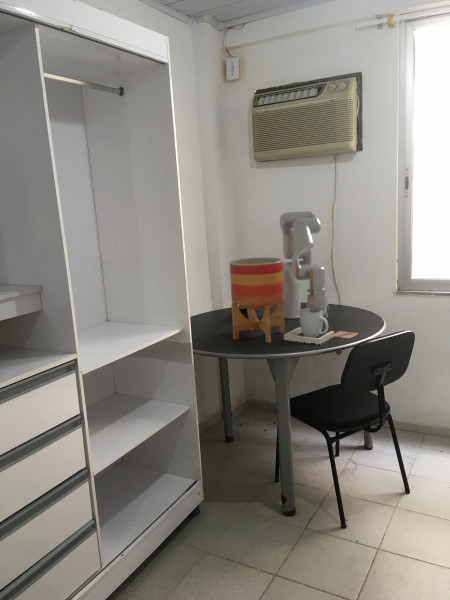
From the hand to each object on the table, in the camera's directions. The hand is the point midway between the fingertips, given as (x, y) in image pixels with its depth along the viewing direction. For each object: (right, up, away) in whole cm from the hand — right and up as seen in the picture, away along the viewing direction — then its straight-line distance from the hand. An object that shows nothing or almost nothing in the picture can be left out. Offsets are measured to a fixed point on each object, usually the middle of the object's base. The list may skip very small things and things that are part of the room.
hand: (318, 328), depth 245 cm
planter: (-29, -4, +2) cm, 29 cm away
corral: (-6, -4, -7) cm, 10 cm away
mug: (-3, -4, -6) cm, 8 cm away
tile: (+12, -3, -5) cm, 13 cm away
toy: (-35, +4, +49) cm, 60 cm away
